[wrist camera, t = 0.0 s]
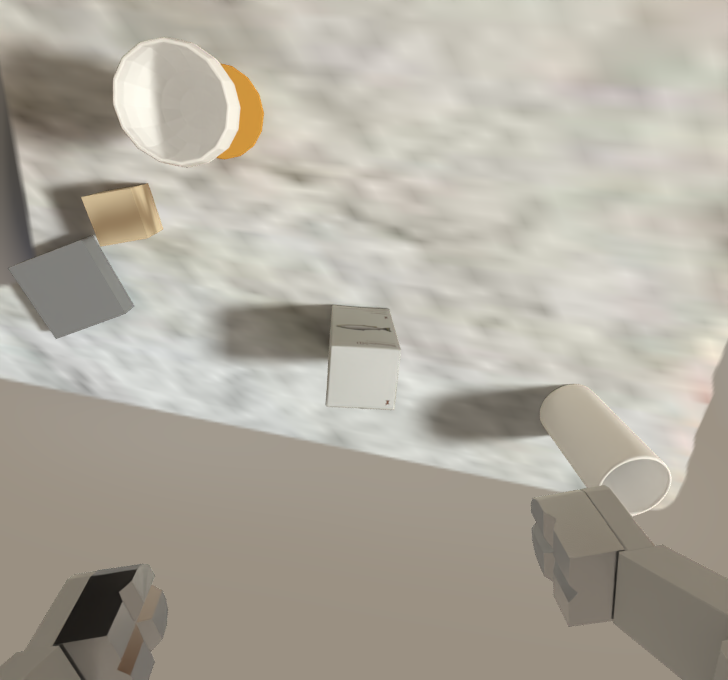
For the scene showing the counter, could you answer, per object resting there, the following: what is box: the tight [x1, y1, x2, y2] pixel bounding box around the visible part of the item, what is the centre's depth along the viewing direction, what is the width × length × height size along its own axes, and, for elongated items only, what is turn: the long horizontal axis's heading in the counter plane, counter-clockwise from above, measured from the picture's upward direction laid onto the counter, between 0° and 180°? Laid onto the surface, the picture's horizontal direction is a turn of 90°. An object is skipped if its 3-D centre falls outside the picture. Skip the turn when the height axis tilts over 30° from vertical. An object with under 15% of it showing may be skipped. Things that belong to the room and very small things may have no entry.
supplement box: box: [326, 305, 401, 410], centre depth 54 cm, size 7×7×13 cm
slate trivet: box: [8, 235, 134, 339], centre depth 55 cm, size 9×9×3 cm
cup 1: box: [113, 37, 264, 168], centre depth 42 cm, size 9×9×16 cm
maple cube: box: [81, 184, 163, 247], centre depth 51 cm, size 5×5×5 cm
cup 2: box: [540, 384, 671, 516], centre depth 59 cm, size 8×8×16 cm
